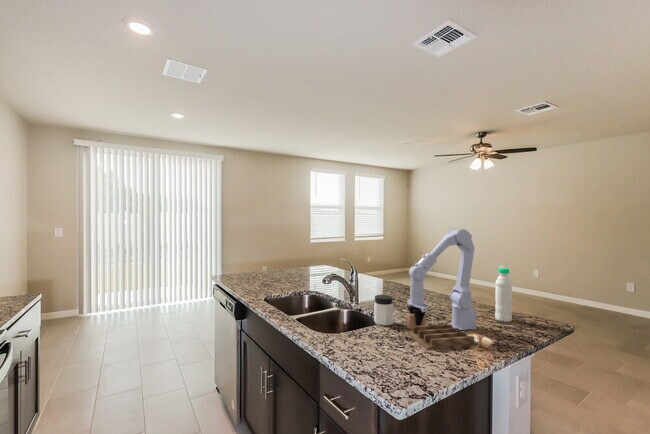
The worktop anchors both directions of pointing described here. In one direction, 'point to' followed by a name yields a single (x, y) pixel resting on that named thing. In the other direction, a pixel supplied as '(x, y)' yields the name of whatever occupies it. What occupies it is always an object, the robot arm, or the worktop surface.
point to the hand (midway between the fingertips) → (416, 323)
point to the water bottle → (503, 296)
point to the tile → (412, 322)
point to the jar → (383, 310)
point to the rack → (441, 336)
